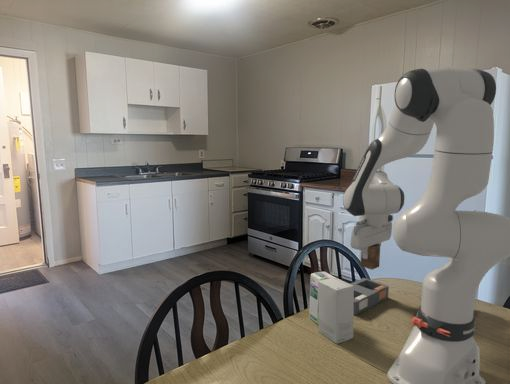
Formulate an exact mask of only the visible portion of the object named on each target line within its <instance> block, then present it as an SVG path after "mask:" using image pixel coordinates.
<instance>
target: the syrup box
mask: <svg viewBox="0 0 510 384" xmlns="http://www.w3.org/2000/svg"><path fill="white" fill-rule="evenodd" d="M333 277H334V276H333V275H332V274H330V273H328V272H326V271H318V272H313V273H311V274H310V281H309V282H310V288H309V289H310V290H309V313H308V314H309V315H308V317H309V318H308V319H311V320H312V321H313V322H314V323H316V324H317V325H318V326H319V320H318V281H321V280H326V279H329V278H333Z"/></svg>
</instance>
